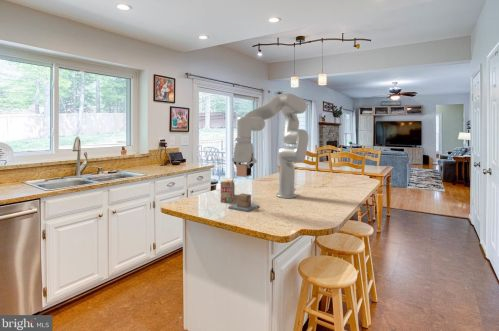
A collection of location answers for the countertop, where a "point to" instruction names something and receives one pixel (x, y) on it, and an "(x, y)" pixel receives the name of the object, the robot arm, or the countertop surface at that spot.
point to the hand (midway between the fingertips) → (243, 174)
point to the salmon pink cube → (242, 170)
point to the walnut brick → (244, 200)
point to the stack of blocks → (227, 190)
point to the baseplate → (243, 207)
